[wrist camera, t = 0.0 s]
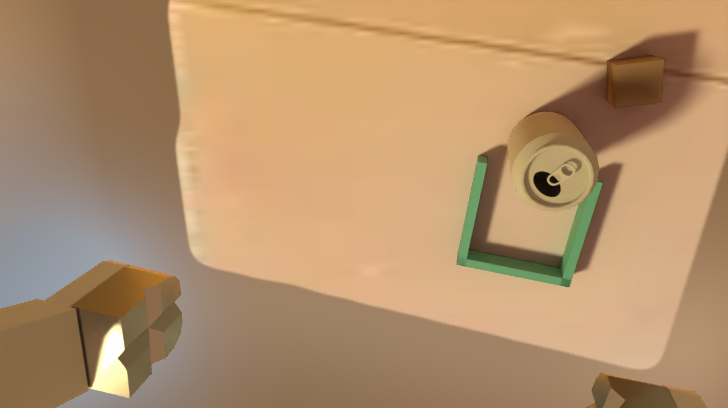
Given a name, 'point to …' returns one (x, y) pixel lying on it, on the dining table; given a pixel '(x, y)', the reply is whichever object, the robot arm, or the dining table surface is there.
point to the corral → (521, 267)
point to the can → (551, 162)
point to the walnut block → (635, 81)
